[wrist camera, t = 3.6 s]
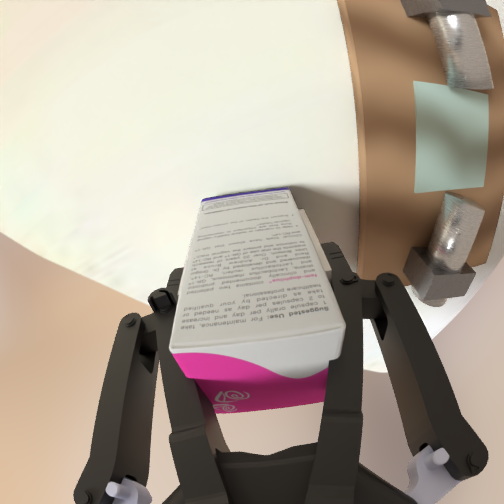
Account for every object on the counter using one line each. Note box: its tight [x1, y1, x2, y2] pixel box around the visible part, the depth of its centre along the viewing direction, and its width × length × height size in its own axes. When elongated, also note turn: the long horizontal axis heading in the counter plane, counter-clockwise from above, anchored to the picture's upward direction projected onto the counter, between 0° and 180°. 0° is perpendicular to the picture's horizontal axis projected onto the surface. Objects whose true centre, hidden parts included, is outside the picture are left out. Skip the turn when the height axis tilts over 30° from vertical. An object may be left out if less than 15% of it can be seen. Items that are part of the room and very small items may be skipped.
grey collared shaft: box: [400, 0, 494, 89], centre depth 8 cm, size 9×5×4 cm, turn 22°
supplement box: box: [169, 187, 346, 413], centre depth 14 cm, size 6×6×12 cm
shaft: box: [403, 192, 485, 307], centre depth 17 cm, size 9×5×4 cm, turn 178°
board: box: [337, 0, 504, 286], centre depth 15 cm, size 26×16×1 cm, turn 10°
